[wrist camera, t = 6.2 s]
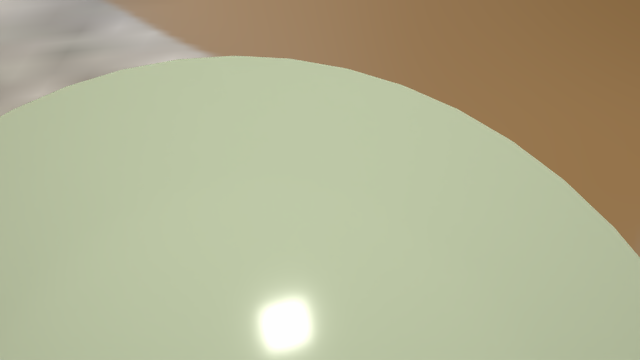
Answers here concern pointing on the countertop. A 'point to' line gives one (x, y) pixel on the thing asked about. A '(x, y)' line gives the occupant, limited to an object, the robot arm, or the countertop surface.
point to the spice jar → (293, 226)
